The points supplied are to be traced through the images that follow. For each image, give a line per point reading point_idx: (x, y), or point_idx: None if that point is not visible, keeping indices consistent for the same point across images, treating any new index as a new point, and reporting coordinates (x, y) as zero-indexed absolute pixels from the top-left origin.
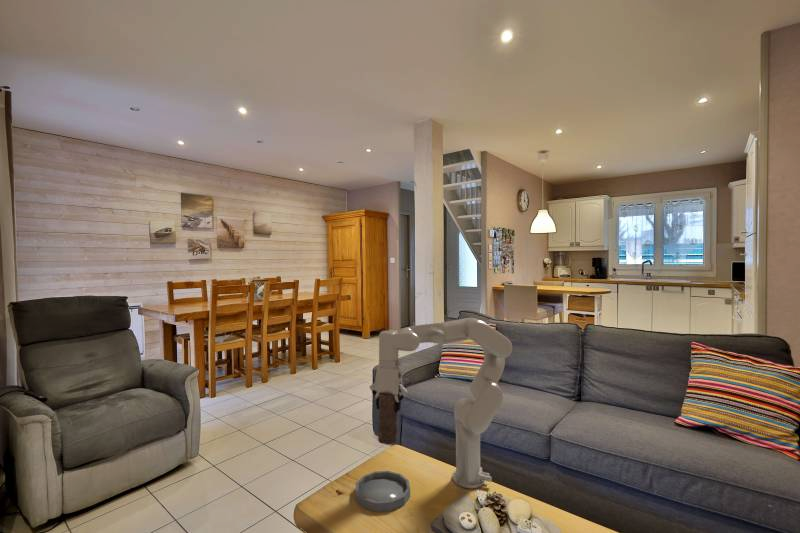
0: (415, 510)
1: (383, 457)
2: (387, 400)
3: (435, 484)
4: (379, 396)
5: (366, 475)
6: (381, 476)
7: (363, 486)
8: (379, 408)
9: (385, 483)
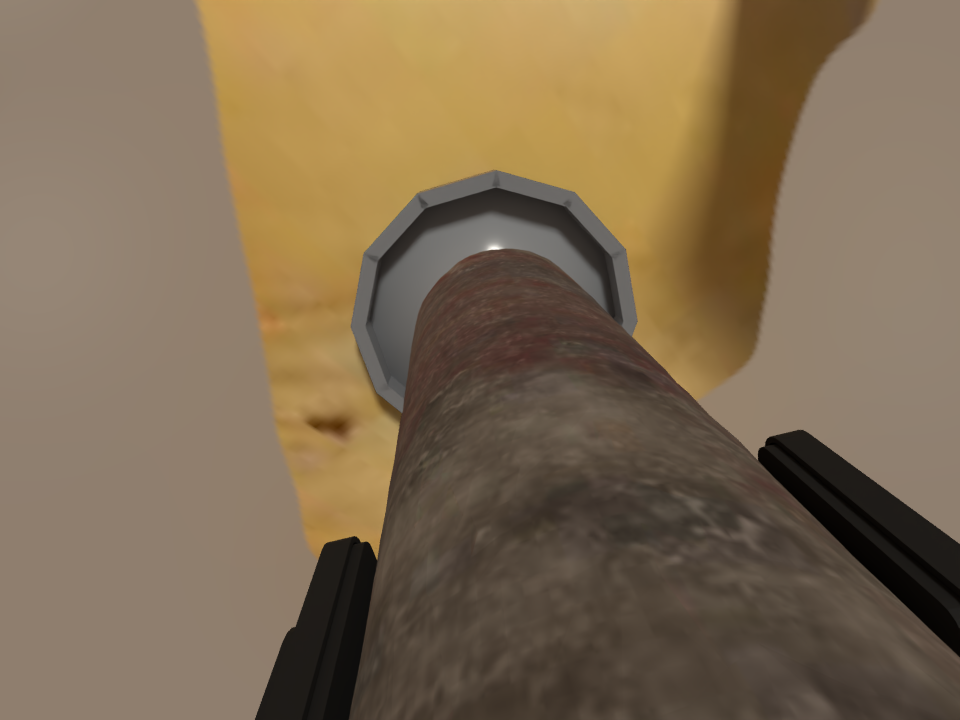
0: (684, 306)
1: (210, 4)
2: None
3: (674, 54)
4: None
5: (361, 312)
6: (403, 232)
7: (394, 348)
8: None
9: (460, 259)
